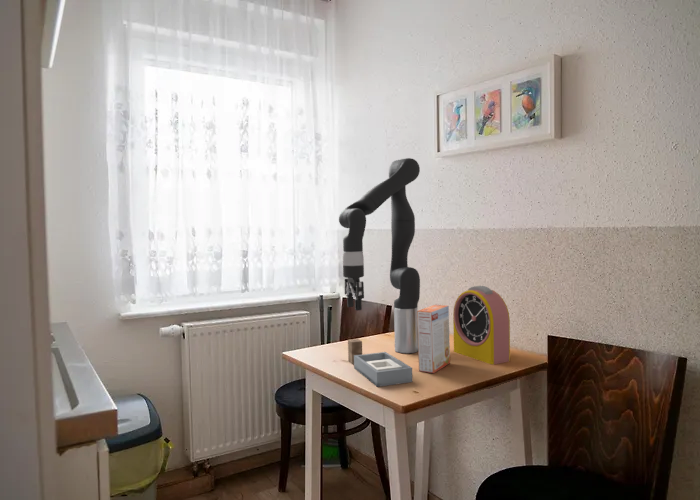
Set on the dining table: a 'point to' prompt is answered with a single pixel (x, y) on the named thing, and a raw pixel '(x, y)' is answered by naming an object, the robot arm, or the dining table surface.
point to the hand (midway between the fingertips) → (354, 308)
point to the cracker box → (433, 338)
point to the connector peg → (354, 349)
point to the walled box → (382, 369)
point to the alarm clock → (482, 326)
